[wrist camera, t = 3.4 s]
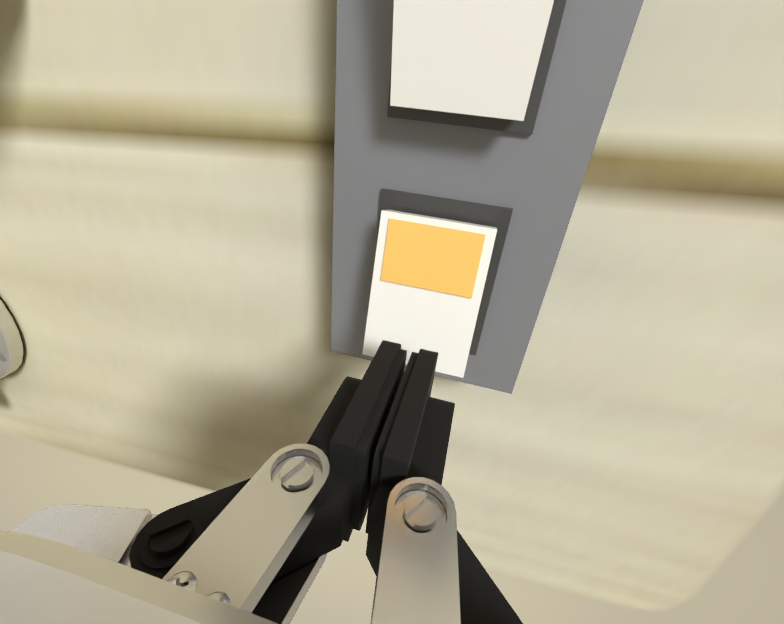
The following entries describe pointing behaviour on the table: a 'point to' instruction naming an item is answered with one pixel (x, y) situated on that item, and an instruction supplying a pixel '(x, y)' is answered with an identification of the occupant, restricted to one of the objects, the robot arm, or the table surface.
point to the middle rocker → (467, 55)
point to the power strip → (469, 170)
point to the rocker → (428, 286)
